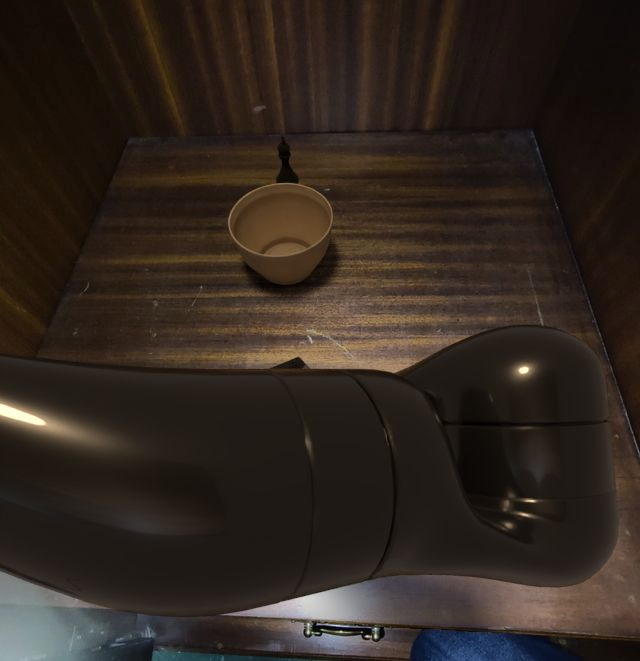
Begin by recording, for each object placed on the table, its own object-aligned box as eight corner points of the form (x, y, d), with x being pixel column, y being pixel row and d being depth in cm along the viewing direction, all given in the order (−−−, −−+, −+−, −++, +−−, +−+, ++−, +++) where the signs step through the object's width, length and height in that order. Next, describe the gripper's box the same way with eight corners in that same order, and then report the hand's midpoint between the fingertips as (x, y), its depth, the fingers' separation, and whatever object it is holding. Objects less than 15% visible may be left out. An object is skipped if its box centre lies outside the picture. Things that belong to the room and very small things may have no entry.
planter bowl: (221, 263, 89) (207, 215, 80) (293, 219, 95) (288, 169, 86) (279, 318, 82) (270, 272, 73) (353, 266, 87) (354, 218, 78)
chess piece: (293, 171, 103) (289, 126, 94) (302, 184, 100) (298, 139, 92) (273, 178, 102) (266, 133, 94) (281, 191, 99) (275, 146, 91)
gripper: (332, 321, 38) (234, 342, 52) (206, 484, 31) (132, 458, 45) (392, 389, 40) (283, 392, 54) (287, 554, 34) (193, 509, 48)
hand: (215, 422), depth 50 cm, fingers closed on pill bottle, 4 cm apart
